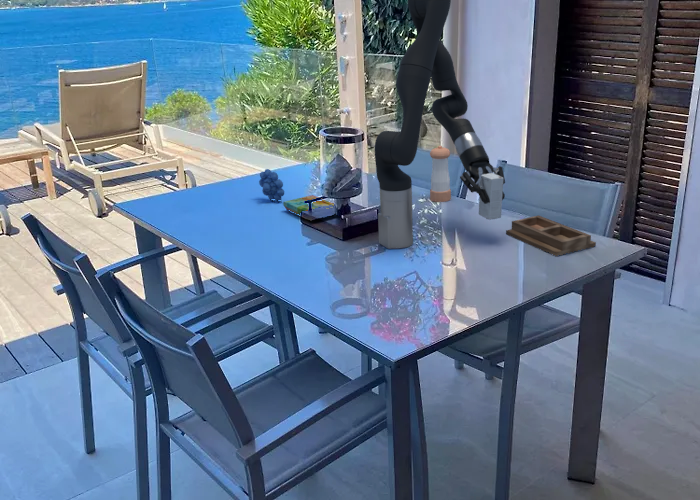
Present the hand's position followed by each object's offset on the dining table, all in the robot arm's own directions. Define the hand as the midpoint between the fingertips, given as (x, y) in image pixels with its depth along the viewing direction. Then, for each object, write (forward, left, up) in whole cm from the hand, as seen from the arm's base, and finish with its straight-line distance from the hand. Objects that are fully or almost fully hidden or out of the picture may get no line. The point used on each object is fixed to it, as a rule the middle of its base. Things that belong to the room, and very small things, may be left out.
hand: (494, 200), depth 195 cm
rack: (+14, -7, -13) cm, 20 cm away
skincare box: (0, +2, -5) cm, 6 cm away
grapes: (-41, +80, -13) cm, 91 cm away
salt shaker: (+11, +47, -13) cm, 49 cm away
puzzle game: (-34, +57, -13) cm, 67 cm away
